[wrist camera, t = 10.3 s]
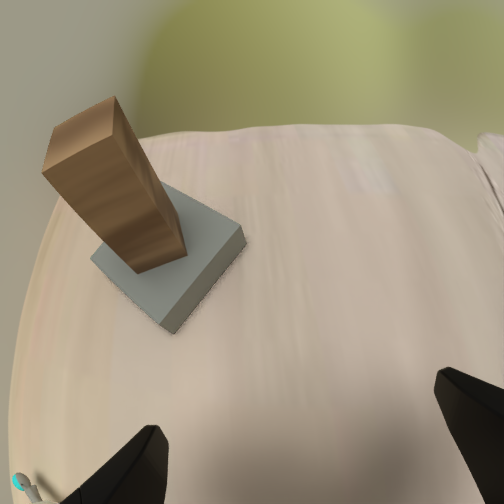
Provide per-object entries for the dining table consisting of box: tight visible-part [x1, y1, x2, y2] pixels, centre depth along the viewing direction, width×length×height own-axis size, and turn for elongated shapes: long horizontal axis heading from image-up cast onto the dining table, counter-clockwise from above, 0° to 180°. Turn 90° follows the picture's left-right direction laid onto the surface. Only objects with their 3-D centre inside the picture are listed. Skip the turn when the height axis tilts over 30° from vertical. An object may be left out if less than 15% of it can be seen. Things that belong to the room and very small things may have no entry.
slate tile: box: [90, 181, 247, 334], centre depth 26 cm, size 10×10×3 cm
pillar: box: [42, 96, 188, 274], centre depth 19 cm, size 4×4×12 cm
